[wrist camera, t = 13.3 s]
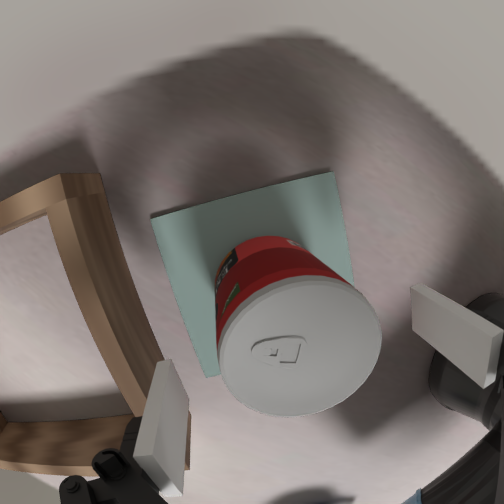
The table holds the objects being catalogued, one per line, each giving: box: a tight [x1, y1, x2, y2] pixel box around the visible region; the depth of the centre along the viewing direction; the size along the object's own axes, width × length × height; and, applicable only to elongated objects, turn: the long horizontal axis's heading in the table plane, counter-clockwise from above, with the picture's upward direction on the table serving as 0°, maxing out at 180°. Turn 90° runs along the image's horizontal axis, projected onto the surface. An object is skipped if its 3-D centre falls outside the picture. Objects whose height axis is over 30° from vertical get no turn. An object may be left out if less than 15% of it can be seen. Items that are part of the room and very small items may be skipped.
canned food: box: [215, 236, 382, 418], centre depth 19 cm, size 8×8×11 cm
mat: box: [150, 171, 355, 378], centre depth 25 cm, size 14×14×1 cm
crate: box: [0, 173, 191, 476], centre depth 20 cm, size 26×23×7 cm
